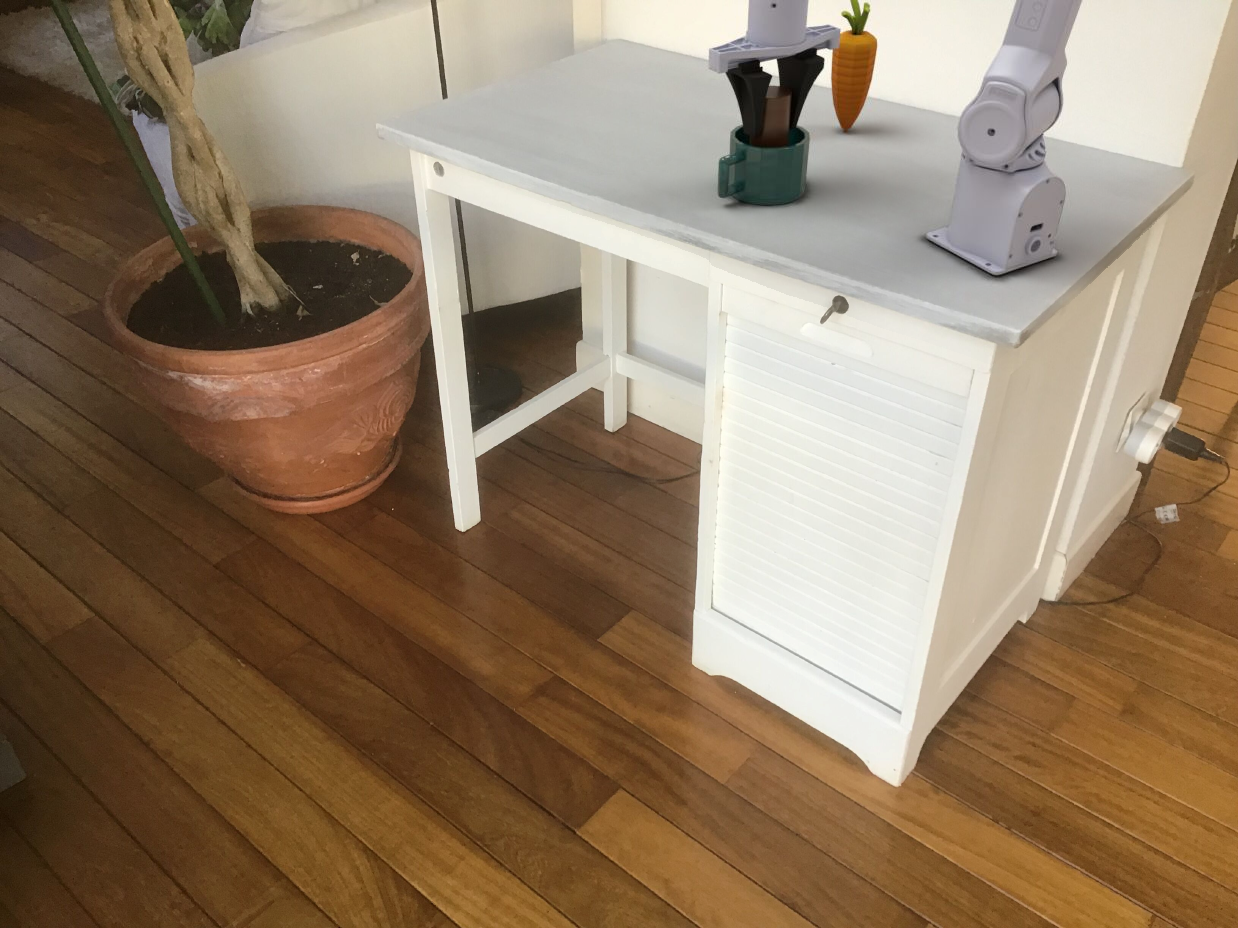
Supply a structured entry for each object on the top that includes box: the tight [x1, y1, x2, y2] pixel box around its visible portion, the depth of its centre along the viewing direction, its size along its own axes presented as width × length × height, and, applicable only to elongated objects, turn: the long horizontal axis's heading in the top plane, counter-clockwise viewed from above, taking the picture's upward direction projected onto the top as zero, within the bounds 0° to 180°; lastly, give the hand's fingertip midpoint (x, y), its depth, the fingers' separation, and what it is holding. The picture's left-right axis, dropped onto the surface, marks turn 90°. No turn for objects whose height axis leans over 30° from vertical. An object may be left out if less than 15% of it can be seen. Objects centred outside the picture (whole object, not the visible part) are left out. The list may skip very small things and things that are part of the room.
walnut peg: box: [750, 85, 792, 148], centre depth 106 cm, size 4×4×6 cm
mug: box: [717, 124, 811, 206], centre depth 108 cm, size 11×8×6 cm
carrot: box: [830, 0, 878, 132], centre depth 119 cm, size 5×5×15 cm
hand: (770, 130), depth 106 cm, fingers closed on walnut peg, 4 cm apart
